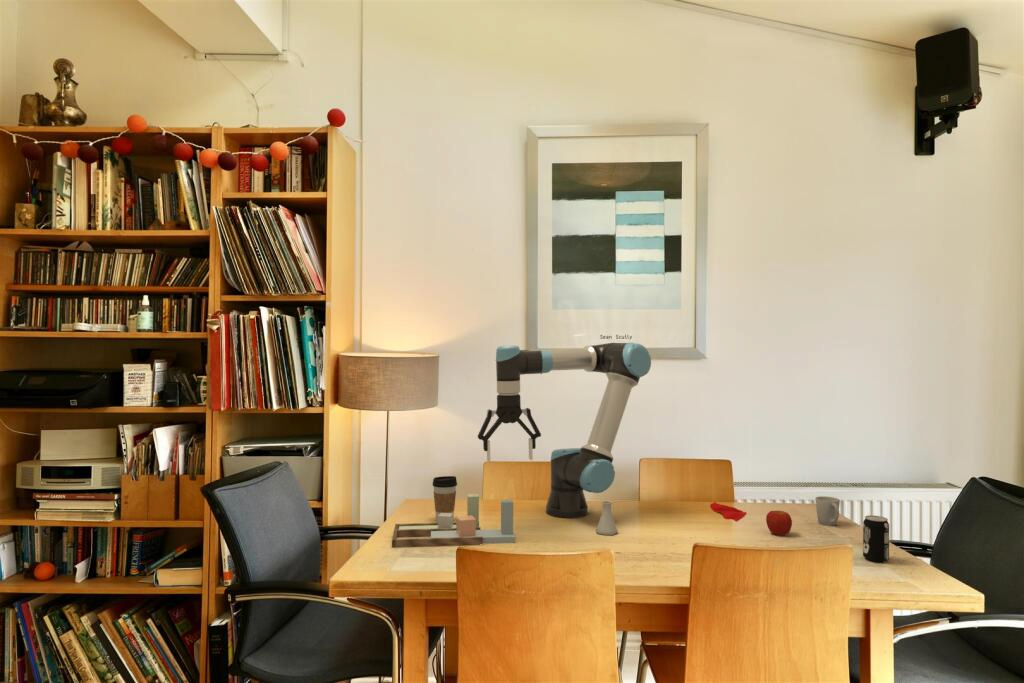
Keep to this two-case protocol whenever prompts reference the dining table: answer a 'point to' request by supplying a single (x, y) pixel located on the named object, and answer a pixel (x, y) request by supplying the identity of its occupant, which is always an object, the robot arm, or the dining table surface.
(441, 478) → the coffee cup
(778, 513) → the apple
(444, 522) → the grey cube
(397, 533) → the lane frame
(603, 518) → the flask
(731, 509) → the cloth
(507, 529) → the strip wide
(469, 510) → the grey l-shaped bracket
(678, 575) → the dining table surface
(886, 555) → the beverage can
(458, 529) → the terracotta cube
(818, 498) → the cup
